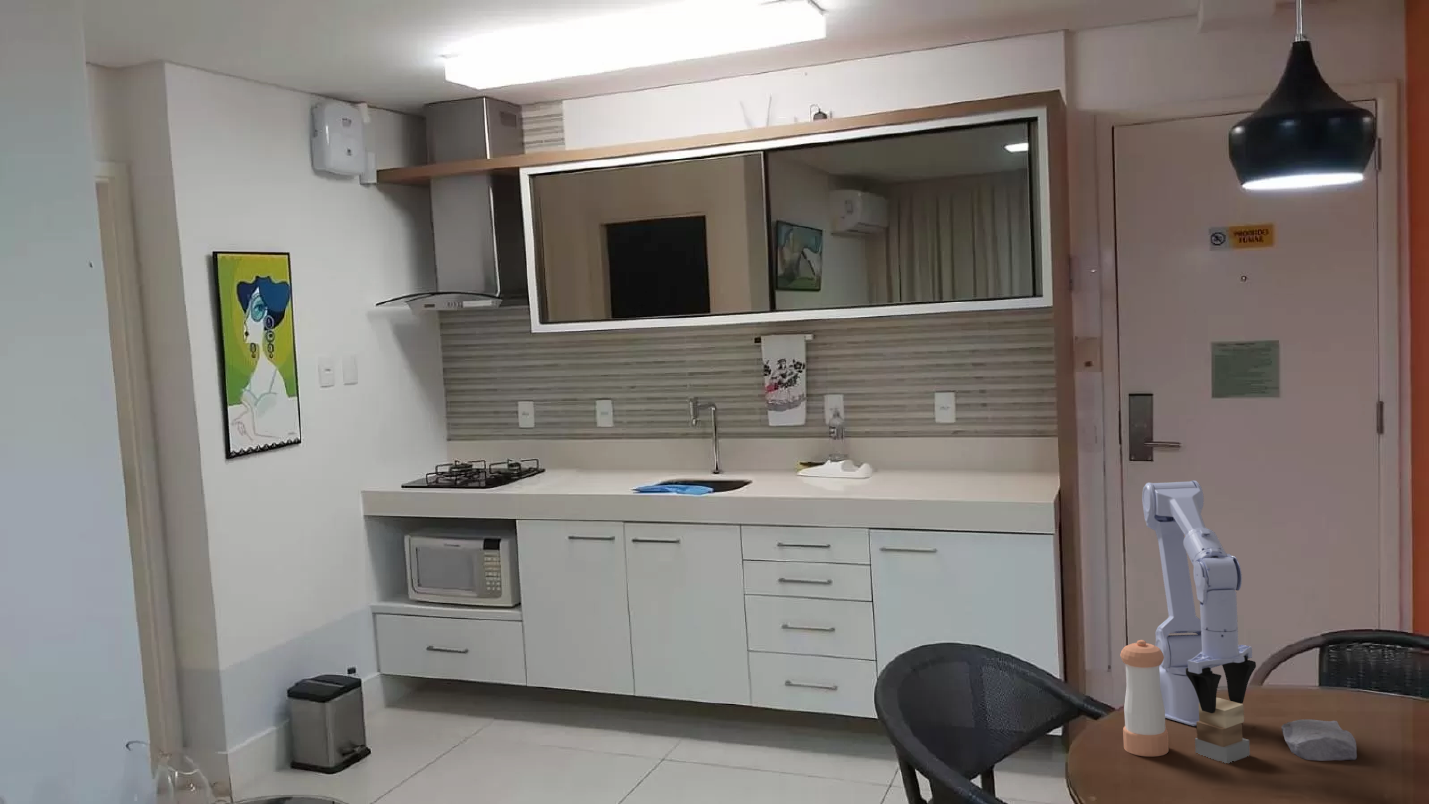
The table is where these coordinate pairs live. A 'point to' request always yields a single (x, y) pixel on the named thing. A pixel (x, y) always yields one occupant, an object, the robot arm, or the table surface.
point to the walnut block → (1219, 734)
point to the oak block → (1223, 714)
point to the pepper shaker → (1144, 701)
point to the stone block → (1319, 740)
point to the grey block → (1223, 750)
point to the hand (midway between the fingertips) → (1222, 706)
